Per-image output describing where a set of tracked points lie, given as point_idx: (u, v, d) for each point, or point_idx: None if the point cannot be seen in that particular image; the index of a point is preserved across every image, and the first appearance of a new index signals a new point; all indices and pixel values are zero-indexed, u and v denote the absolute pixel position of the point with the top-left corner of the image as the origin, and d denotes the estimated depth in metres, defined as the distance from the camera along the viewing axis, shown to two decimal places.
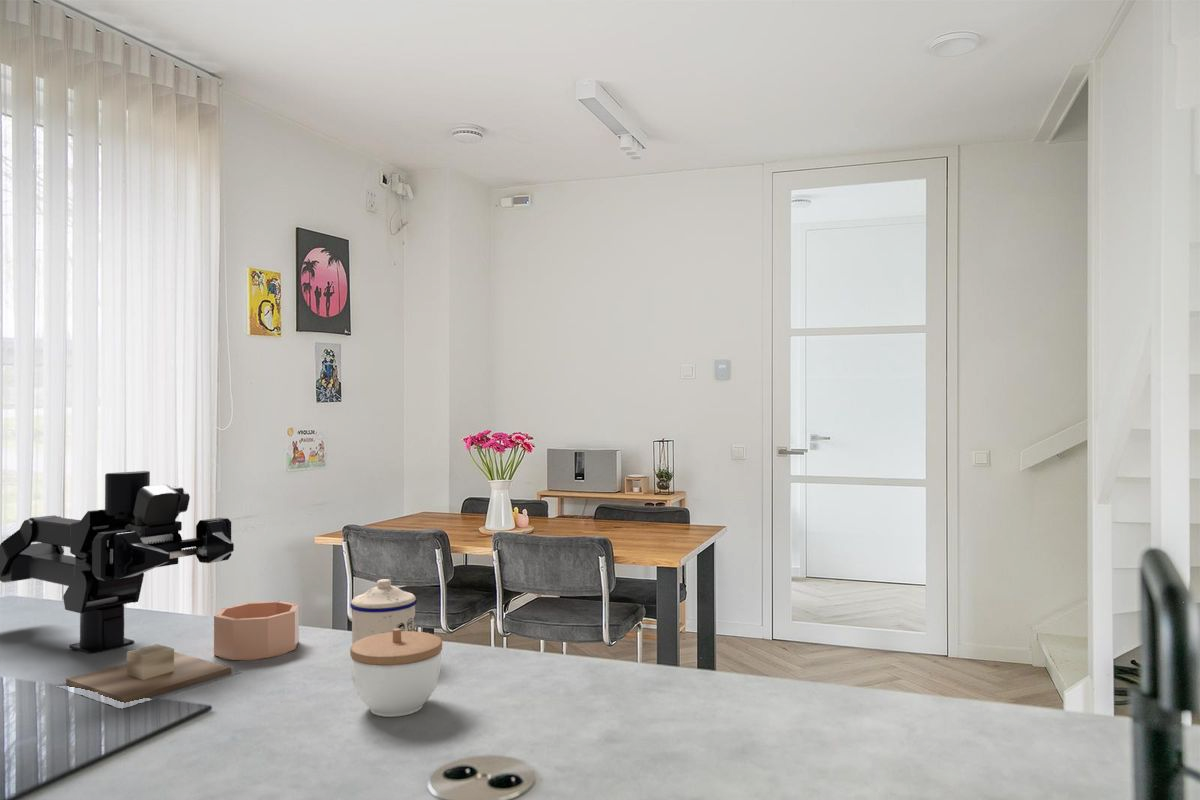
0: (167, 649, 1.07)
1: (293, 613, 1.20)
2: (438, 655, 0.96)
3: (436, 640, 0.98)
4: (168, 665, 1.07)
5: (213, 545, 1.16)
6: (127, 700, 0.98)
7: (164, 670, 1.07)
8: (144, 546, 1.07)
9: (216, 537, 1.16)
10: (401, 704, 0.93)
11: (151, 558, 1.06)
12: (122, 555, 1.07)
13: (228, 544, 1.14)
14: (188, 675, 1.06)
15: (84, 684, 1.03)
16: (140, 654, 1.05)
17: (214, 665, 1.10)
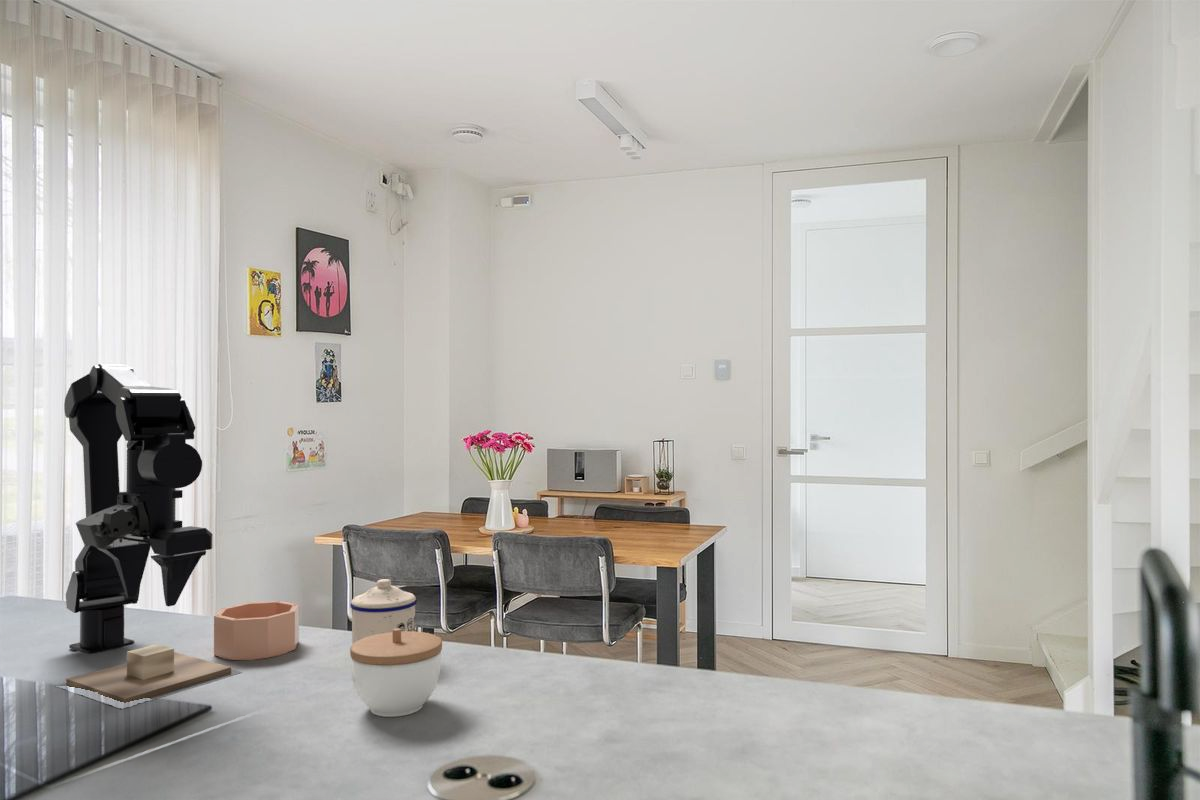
0: (167, 649, 1.07)
1: (293, 613, 1.20)
2: (438, 655, 0.96)
3: (436, 640, 0.98)
4: (168, 665, 1.07)
5: None
6: (127, 700, 0.98)
7: (164, 670, 1.07)
8: (118, 569, 1.09)
9: None
10: (401, 704, 0.93)
11: None
12: None
13: None
14: (188, 675, 1.06)
15: (84, 684, 1.03)
16: (140, 654, 1.05)
17: (214, 665, 1.10)
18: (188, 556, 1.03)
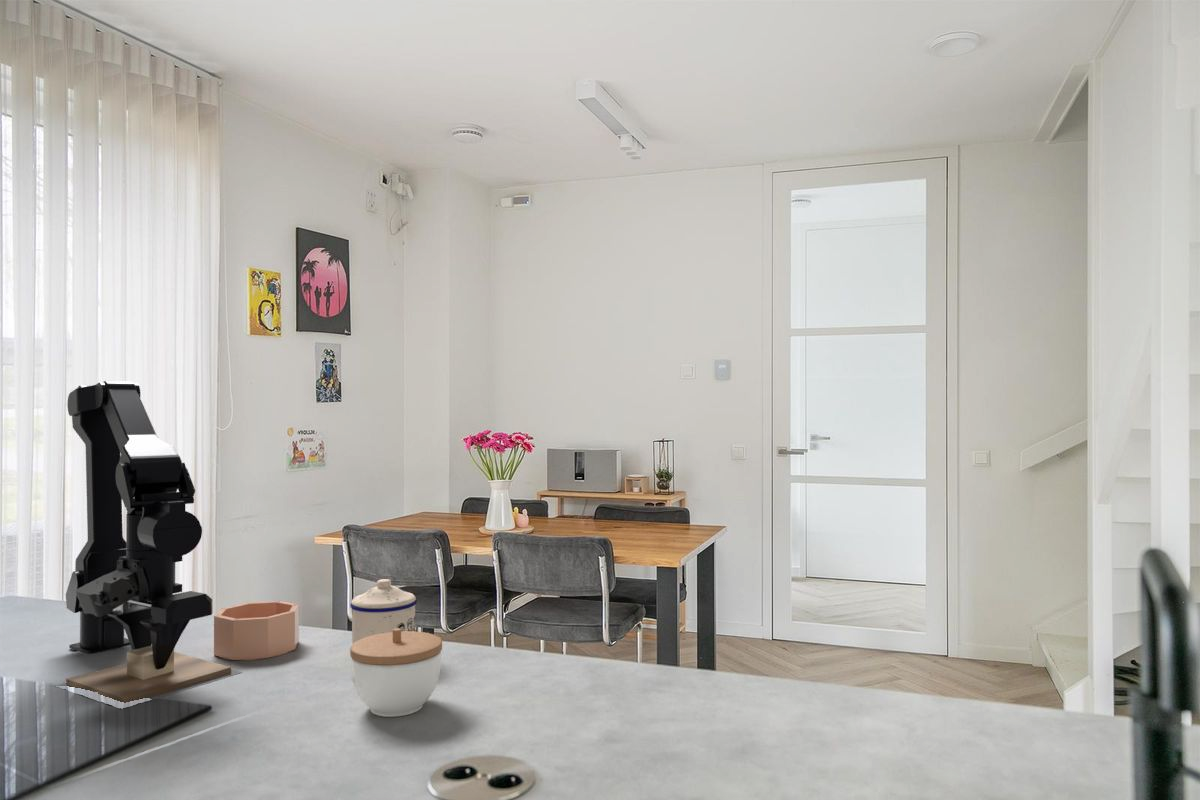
0: None
1: (293, 613, 1.20)
2: (438, 655, 0.96)
3: (436, 640, 0.98)
4: (168, 665, 1.07)
5: None
6: (127, 700, 0.98)
7: (164, 670, 1.07)
8: (128, 634, 1.08)
9: None
10: (401, 704, 0.93)
11: None
12: None
13: None
14: (188, 675, 1.06)
15: (84, 684, 1.03)
16: (140, 654, 1.05)
17: (214, 665, 1.10)
18: None
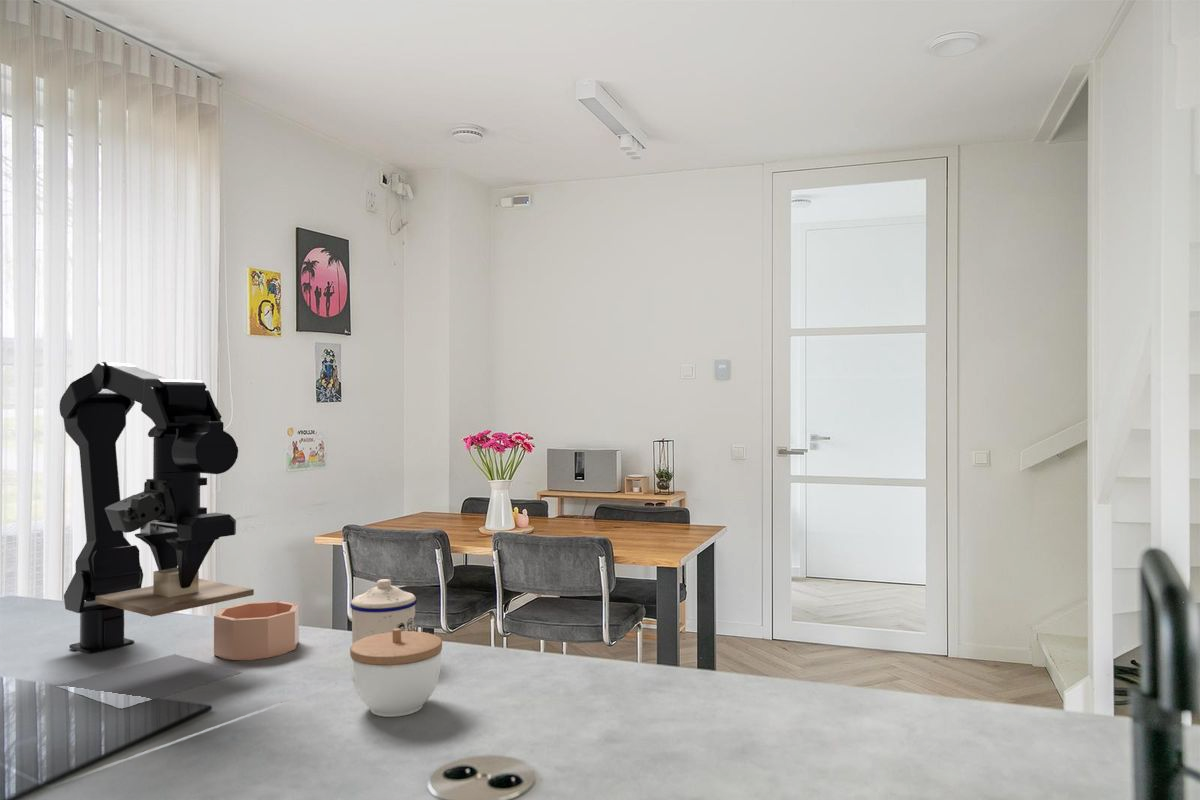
0: None
1: (293, 613, 1.20)
2: (438, 655, 0.96)
3: (436, 640, 0.98)
4: (193, 585, 1.10)
5: None
6: (154, 612, 1.01)
7: (189, 590, 1.10)
8: (154, 556, 1.11)
9: None
10: (401, 704, 0.93)
11: None
12: None
13: None
14: (212, 594, 1.09)
15: (112, 600, 1.06)
16: (166, 573, 1.08)
17: (237, 588, 1.13)
18: (202, 540, 1.07)
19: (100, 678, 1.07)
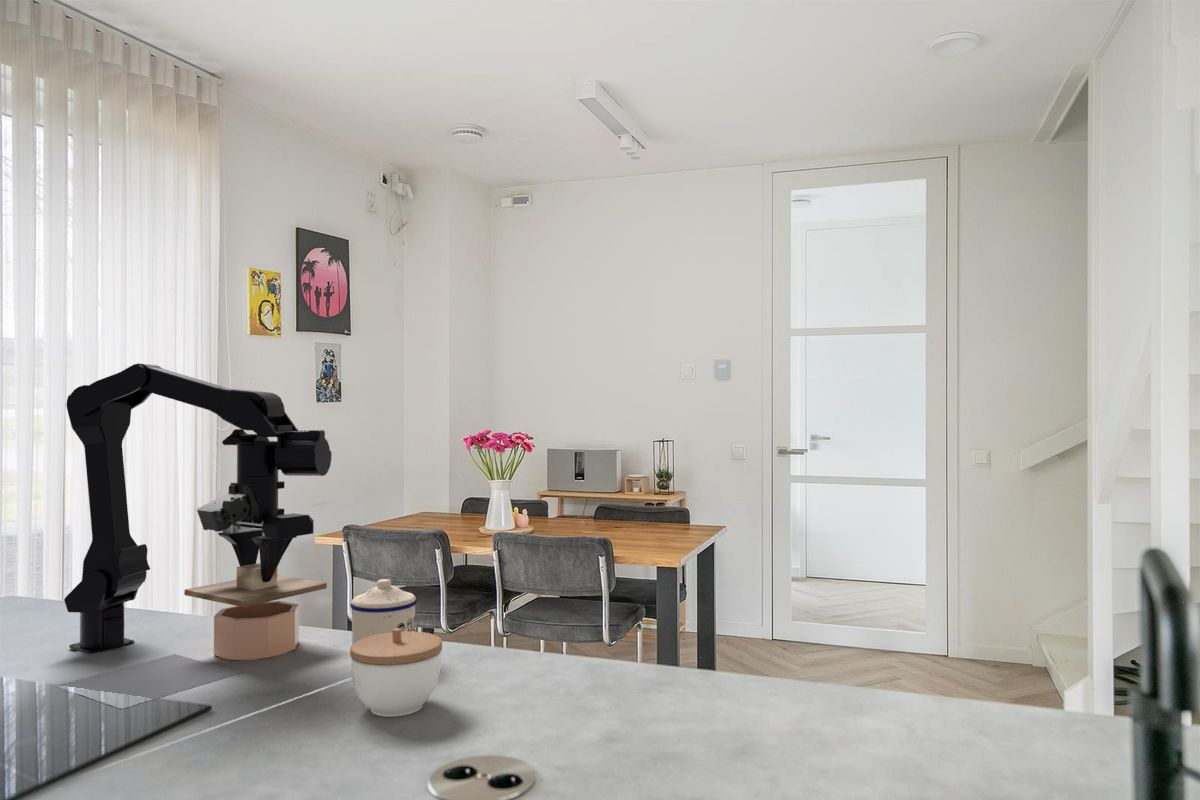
0: None
1: (293, 613, 1.20)
2: (438, 655, 0.96)
3: (436, 640, 0.98)
4: (272, 579, 1.21)
5: None
6: (245, 603, 1.11)
7: (269, 583, 1.20)
8: (236, 553, 1.21)
9: None
10: (401, 704, 0.93)
11: None
12: None
13: None
14: (291, 587, 1.20)
15: (202, 593, 1.16)
16: (249, 568, 1.19)
17: (311, 582, 1.24)
18: (283, 538, 1.18)
19: (100, 678, 1.07)
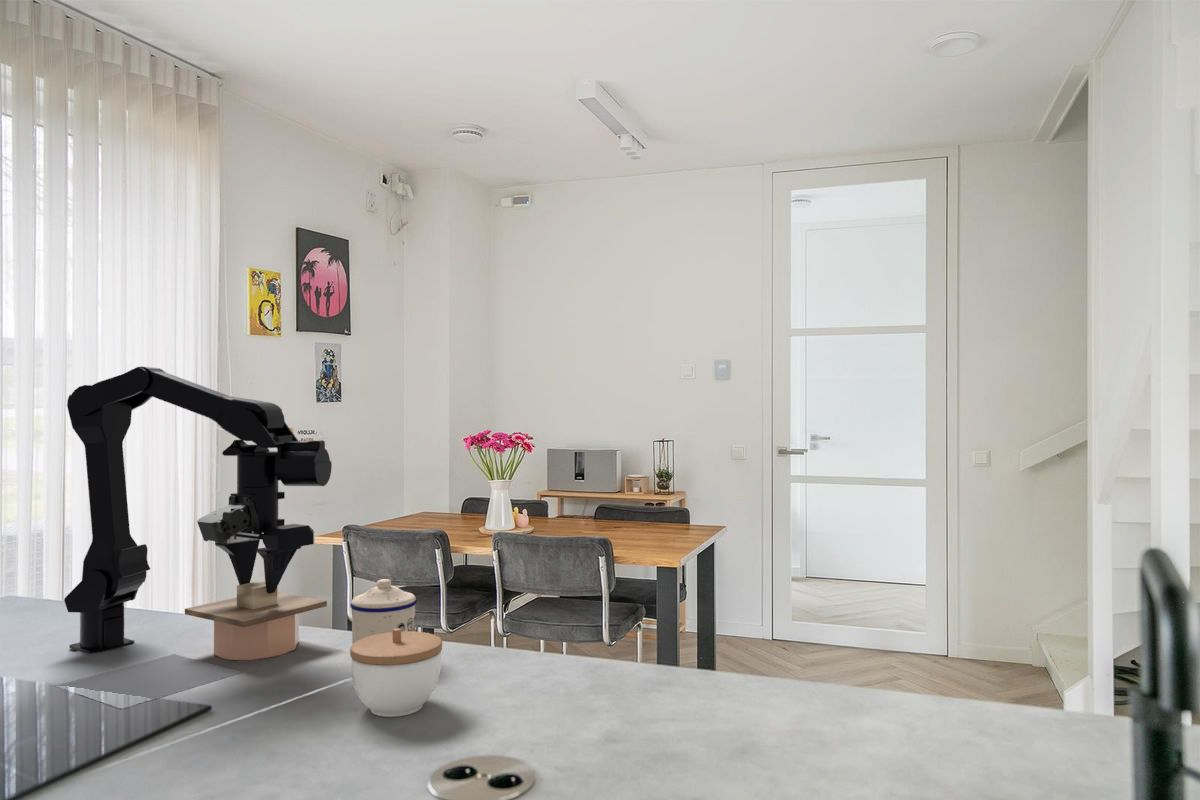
0: None
1: None
2: (438, 655, 0.96)
3: (436, 640, 0.98)
4: (273, 598, 1.21)
5: None
6: (245, 623, 1.11)
7: (269, 602, 1.20)
8: (233, 562, 1.22)
9: None
10: (401, 704, 0.93)
11: None
12: None
13: None
14: (292, 606, 1.20)
15: (202, 612, 1.16)
16: (249, 587, 1.19)
17: (311, 600, 1.24)
18: (287, 549, 1.18)
19: (100, 678, 1.07)
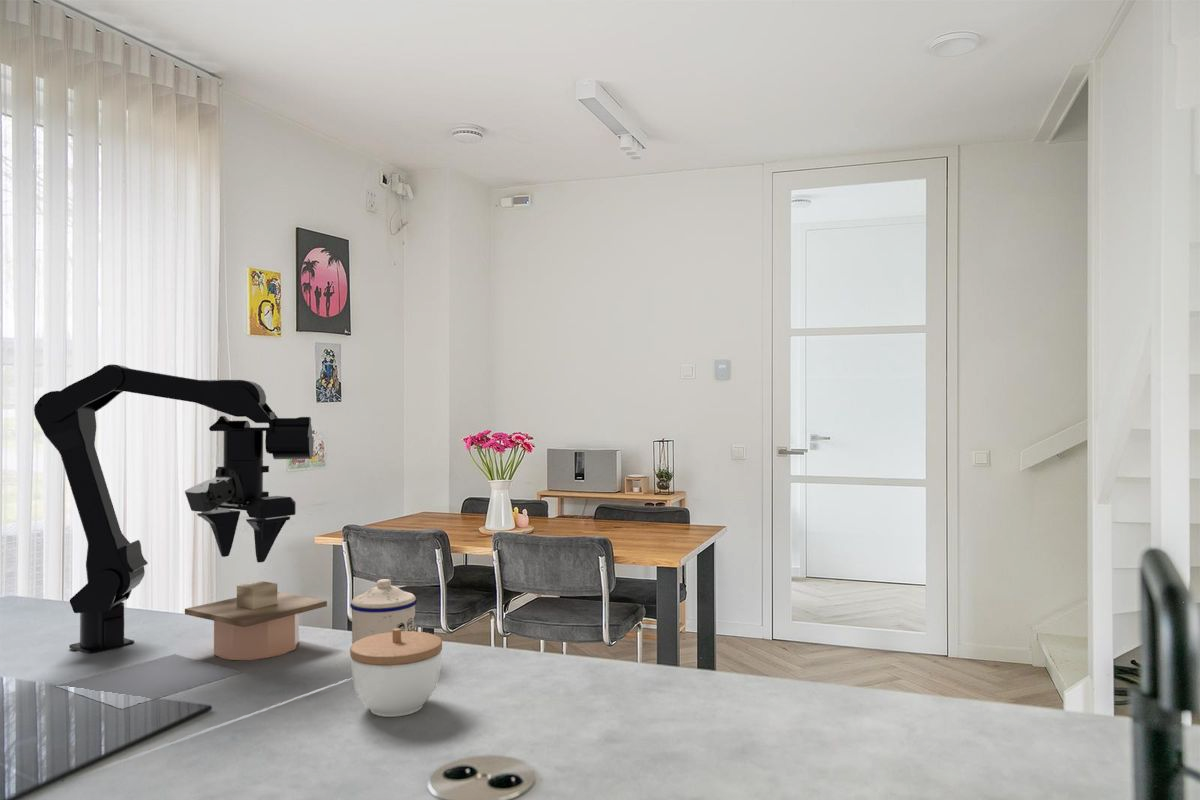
0: (271, 584, 1.21)
1: None
2: (438, 655, 0.96)
3: (436, 640, 0.98)
4: (273, 598, 1.21)
5: None
6: (245, 623, 1.11)
7: (269, 602, 1.20)
8: (214, 532, 1.29)
9: None
10: (401, 704, 0.93)
11: None
12: None
13: None
14: (292, 606, 1.20)
15: (202, 612, 1.16)
16: (249, 587, 1.19)
17: (311, 600, 1.24)
18: (276, 520, 1.23)
19: (100, 678, 1.07)
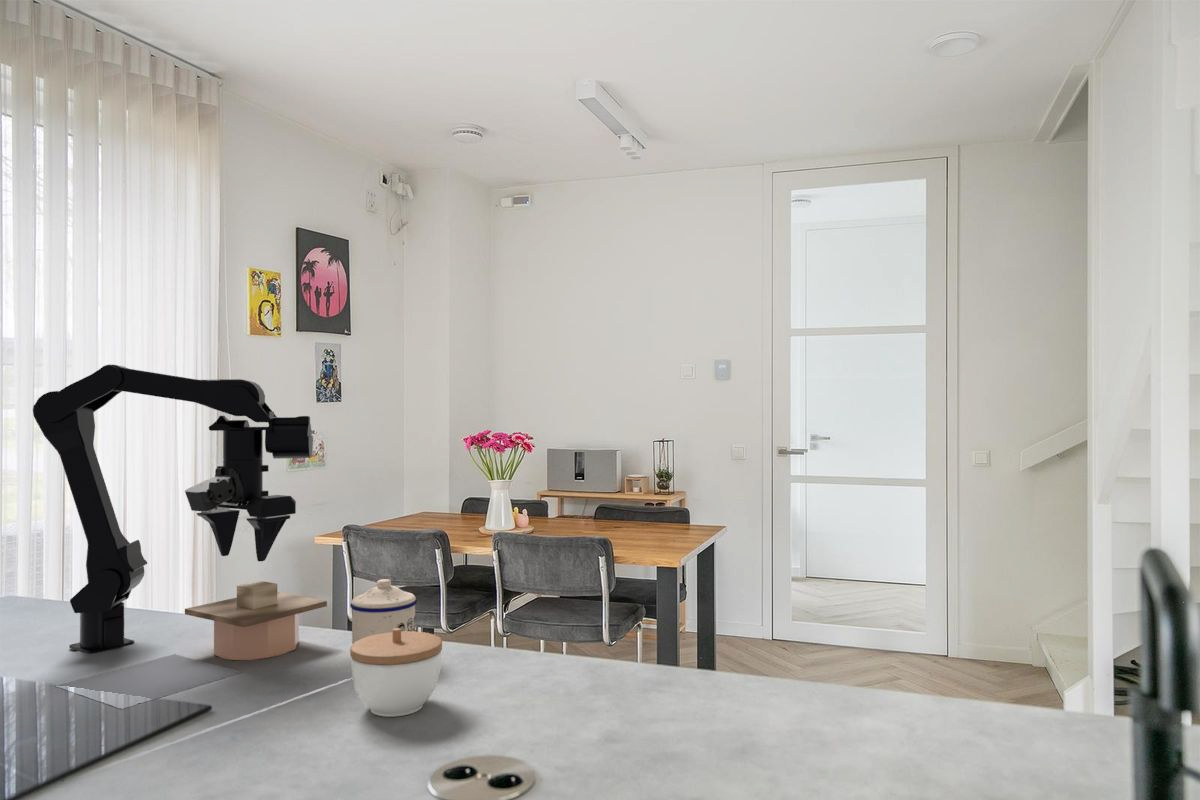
0: (271, 584, 1.21)
1: None
2: (438, 655, 0.96)
3: (436, 640, 0.98)
4: (273, 598, 1.21)
5: None
6: (245, 623, 1.11)
7: (269, 602, 1.20)
8: (214, 531, 1.29)
9: None
10: (401, 704, 0.93)
11: None
12: None
13: None
14: (292, 606, 1.20)
15: (202, 612, 1.16)
16: (249, 587, 1.19)
17: (311, 600, 1.24)
18: (277, 519, 1.24)
19: (100, 678, 1.07)
